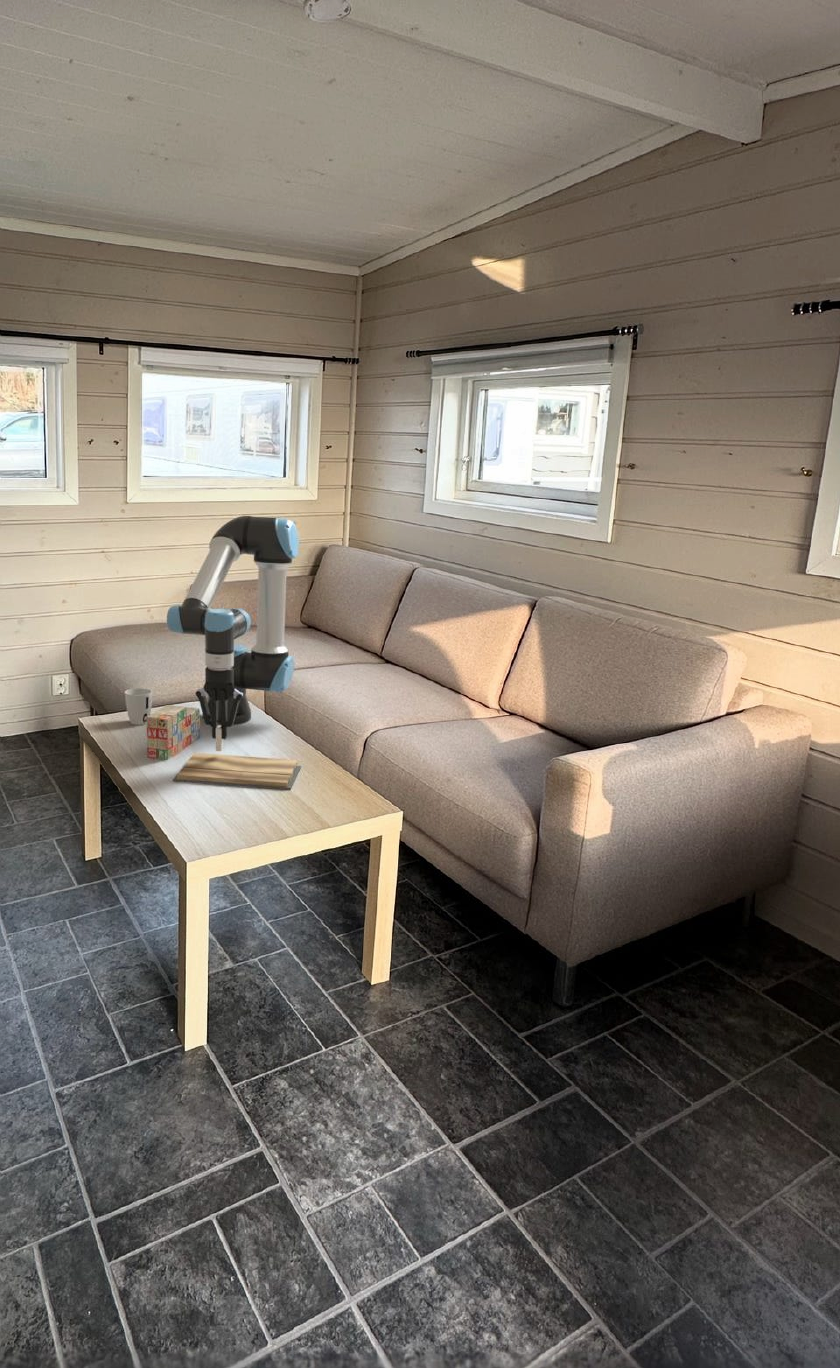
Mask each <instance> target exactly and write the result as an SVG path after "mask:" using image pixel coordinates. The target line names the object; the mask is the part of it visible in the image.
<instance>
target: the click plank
mask: <svg viewBox="0 0 840 1368" xmlns="http://www.w3.org/2000/svg"><path fill="white" fill-rule="evenodd" d="M184 765H185V766H183V767H184V768H194V769H208V770H223V771H237V772H251V773H265V774H279V775H291V778H292V775H293V773H294V771H295V768H296V766H298V759H285V758H284V759H283V758H272V757H271V758H269V757H259V756H258V757H257V756H243V755H242V756H240V755H231V754H230V755H229V754H214V753H204V752H203V753H200V752H199V753H198V752H193V753H192V755H191V756H190V758H189V759H188V760H187V762H186V763H185V764H184Z"/></svg>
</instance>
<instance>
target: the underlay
mask: <svg viewBox="0 0 840 1368" xmlns="http://www.w3.org/2000/svg"><path fill="white" fill-rule="evenodd" d="M184 766H185V764H184ZM184 766H182V768H184ZM182 768H181V769H180V770H179V772H180V771H181V770H182ZM301 769H302V766H301V765H297V766H296V768H295V771H294V773H293V775H292V778H291V780H290V782H289V784H288V786H287V787H280V786H265V785H251V784H237V783H223V782H209V781H195V780H181V779H177V774H176V775H175V776H174V777H173V779H172V782H177V783H187V784H189V783H192V784H201V785H203V784H205V785H218V786H231V787H232V786H234V787H235V786H236V787H246V788H258V789H259V788H260V789H261V788H262V789H275V790H287V791H291V789H292V787H293V785H294V783H295V781H296V779H297V777H298V774H299V772H300V770H301ZM179 772H178V773H179Z"/></svg>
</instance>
